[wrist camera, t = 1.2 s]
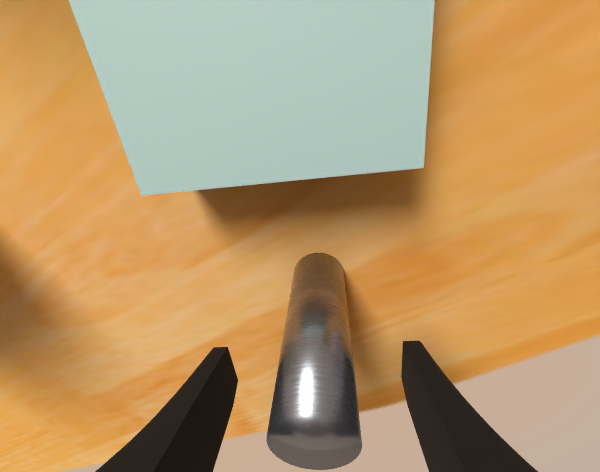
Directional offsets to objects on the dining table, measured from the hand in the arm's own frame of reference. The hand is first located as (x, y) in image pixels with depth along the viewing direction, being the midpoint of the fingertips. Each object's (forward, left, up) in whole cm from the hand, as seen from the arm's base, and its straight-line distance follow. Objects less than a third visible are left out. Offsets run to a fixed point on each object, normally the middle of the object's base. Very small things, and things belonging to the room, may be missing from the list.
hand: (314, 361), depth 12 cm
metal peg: (0, 0, -6) cm, 6 cm away
